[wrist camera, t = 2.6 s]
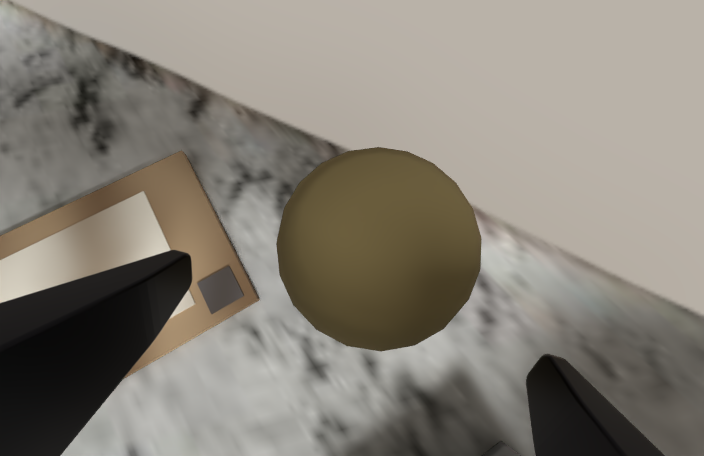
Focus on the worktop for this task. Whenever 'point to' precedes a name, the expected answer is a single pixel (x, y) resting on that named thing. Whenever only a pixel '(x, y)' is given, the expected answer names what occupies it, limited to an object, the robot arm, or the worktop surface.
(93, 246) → the tan rectangular board
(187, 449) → the worktop surface
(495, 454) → the button housing
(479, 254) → the cork
